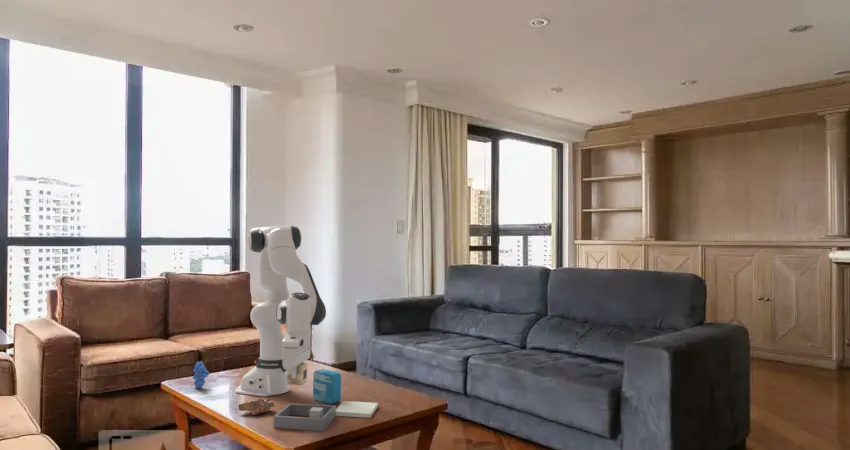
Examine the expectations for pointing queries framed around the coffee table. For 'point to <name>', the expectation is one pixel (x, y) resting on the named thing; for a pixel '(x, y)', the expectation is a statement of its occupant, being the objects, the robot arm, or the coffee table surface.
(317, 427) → the bin
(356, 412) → the board
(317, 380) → the data package
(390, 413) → the coffee table surface
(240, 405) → the mineral specimen
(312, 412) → the grey box
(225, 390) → the coffee table surface
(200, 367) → the grapes
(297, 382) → the birch box
